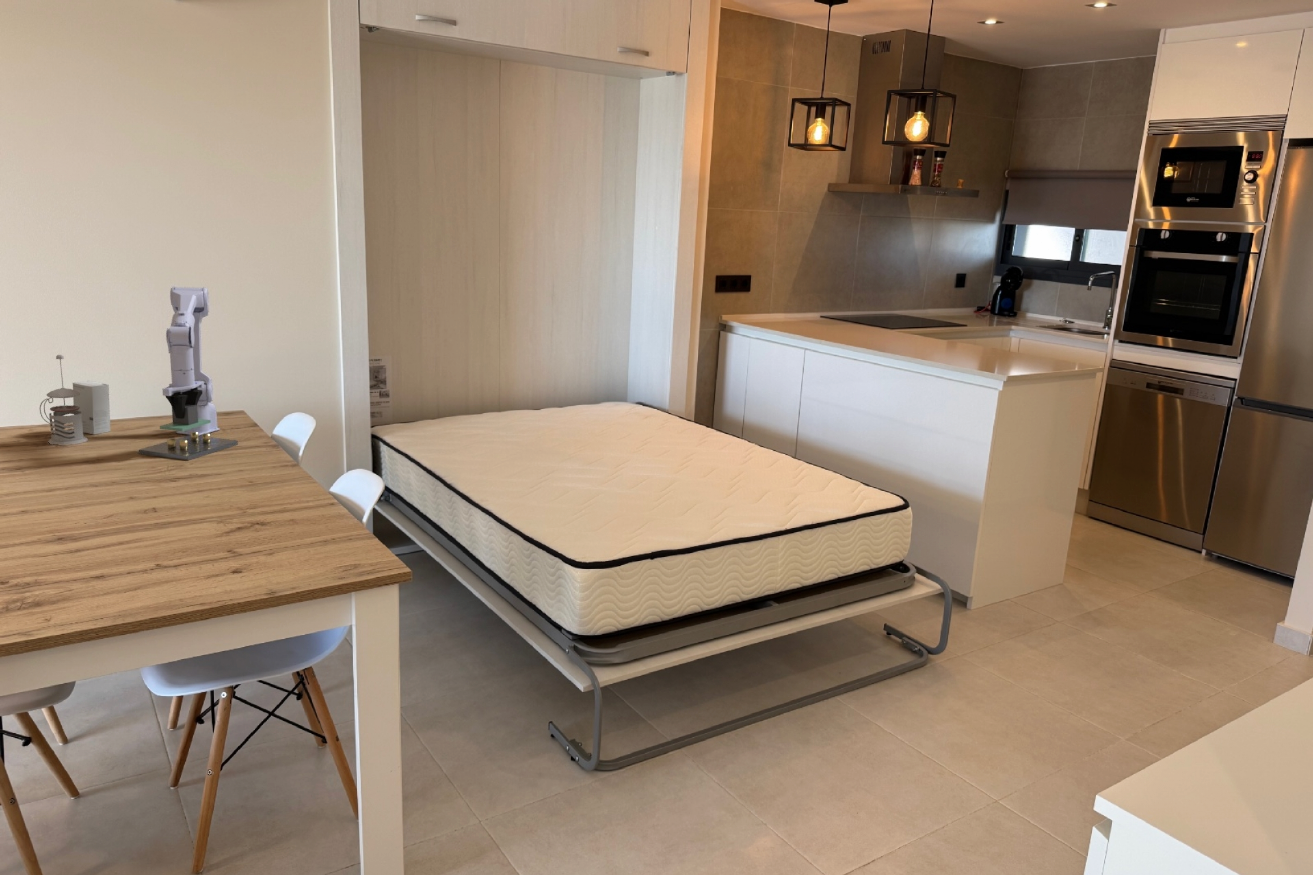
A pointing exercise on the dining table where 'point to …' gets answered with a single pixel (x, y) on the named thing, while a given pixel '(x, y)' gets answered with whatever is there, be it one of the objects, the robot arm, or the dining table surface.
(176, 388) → the robot arm
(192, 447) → the plate
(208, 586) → the dining table surface
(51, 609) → the dining table surface
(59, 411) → the french press
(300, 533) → the dining table surface
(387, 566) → the dining table surface
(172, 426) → the board
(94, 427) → the skincare box
